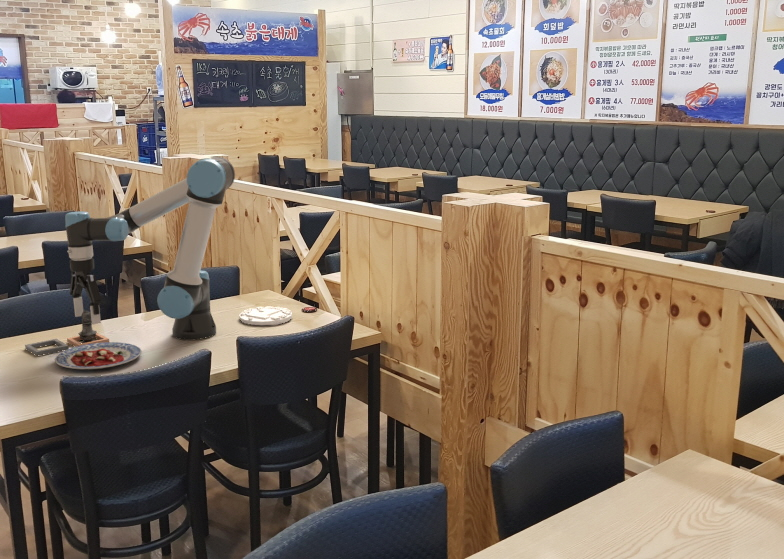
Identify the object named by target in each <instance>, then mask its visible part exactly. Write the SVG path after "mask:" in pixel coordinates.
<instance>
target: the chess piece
mask: <svg viewBox="0 0 784 559" xmlns="http://www.w3.org/2000/svg"><path fill="white" fill-rule="evenodd" d="M80 324H81V326H82V327H81V328H82V329H81V330H80V331H79V332H78V336H80V338H81V339H82V340H83V341H80V343H86V342H91V341H96V338H95V337H96V333H98V332H97V330H94V329H93V324H92V320H91V311H88V309H87V308H85V309H84V310H83V313H82V316H81V322H80Z"/></svg>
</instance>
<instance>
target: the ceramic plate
mask: <svg viewBox="0 0 784 559" xmlns="http://www.w3.org/2000/svg"><path fill="white" fill-rule="evenodd" d="M141 354H142V349H141V347H139V346H137V345H135V344H131V343H126V342H118V341H117V342H115V341H109V342H104V343H93V344H87V345H81V346H77V347H74V346H72V347H70V348H69V349H68V350H65V351H61V352H59V353H58V354H57V355H56V356H55V358H54V362H55V363H56V364H57V365H58V366H60V367H64V368H67V369H74V370H99V369H107V368H113V367H116V366H120V365H123V364H127V363H129V362H131V361H134V360H136V359H137V358H139V357H140V356H141Z"/></svg>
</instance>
